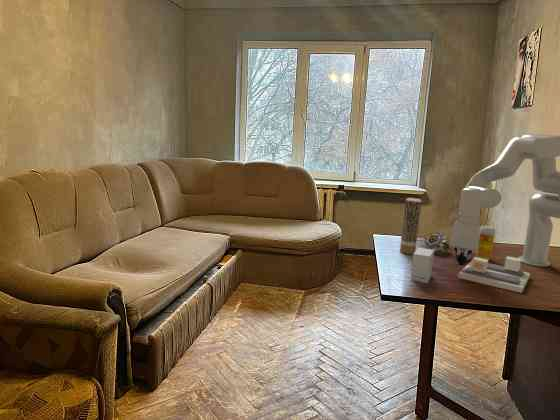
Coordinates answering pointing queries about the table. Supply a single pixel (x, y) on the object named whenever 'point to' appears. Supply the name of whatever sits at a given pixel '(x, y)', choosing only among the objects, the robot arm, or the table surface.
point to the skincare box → (422, 265)
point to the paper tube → (410, 225)
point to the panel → (497, 277)
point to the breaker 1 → (479, 264)
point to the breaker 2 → (512, 264)
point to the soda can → (463, 253)
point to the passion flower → (436, 242)
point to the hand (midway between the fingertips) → (461, 264)
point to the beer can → (485, 242)
